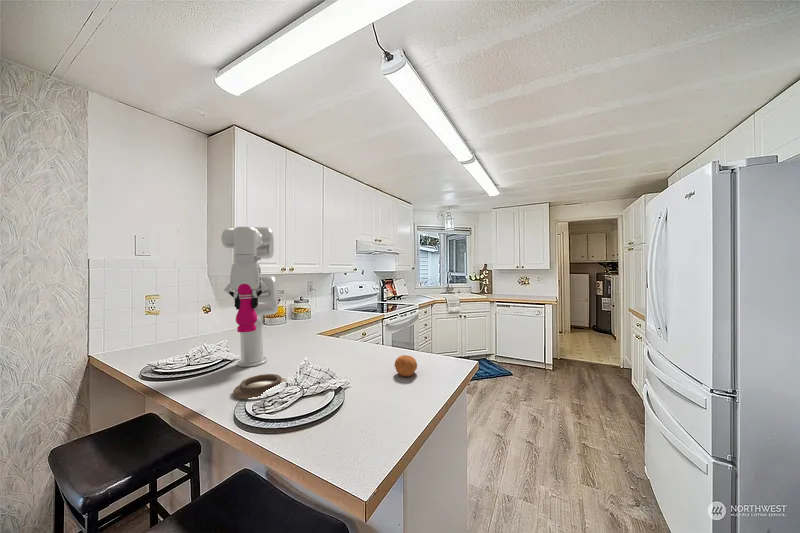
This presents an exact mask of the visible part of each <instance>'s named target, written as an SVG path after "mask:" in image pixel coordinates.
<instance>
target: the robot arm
mask: <svg viewBox="0 0 800 533" xmlns="http://www.w3.org/2000/svg"><path fill="white" fill-rule="evenodd" d="M273 233H274V232H273V231H272V229H270V227H264V226H263V227H262V226H261V227H260V226H237V227H233V228H225V229H224V230H222V233H221V235H220V236H221V237H220V238H221V240H220V241H221V244H222V245H223V247H224V248H226V249H233V263H232V265H231V270H230V277H229V278H230V279H229V283H228V284H227V286H226V287H224V289H223V291H225V292H226V293H228V294H229V295H230V296H231V298H233V300H234V308H235V310H236V311H237V312H238V311H239V308H240V299H239V295H240V294H239V292H238V287H239V286H240V285H241V284H248V285H249V286H250V287H251V289H252V290H253V291H252V292H253V298H252V302H253V309H254V310H255V312H256V314H257V321H256V322H255V324H254V325H256V330H255V331H251V332H239V334H240V339H239V340H240V343H239V344H240V359H239V360H238V361H237V362H236V363H237V364H236V365H237V366H238V367H242V368H250V367H256V366H260V365H264V364H265V363H267V361H268V358H267V356H264V330H263V323H262V321H261V320H260V319H259V318H258V317H259V316H260V317H261V316H268V315H270V316H271V315H275V314H277V312H278V311H279V296H278V295H279V294H278V293H279V292H278V282H277V279H276V277H274V276H273V275H262V270H261V265H260V263H258V261H261V260H265V259H266V260H267V259H272V258H273V256H274V253H275V248H274V247H275V246H274V245H275V244H274V241H275V240H274V239H275V238H274V234H273Z"/></svg>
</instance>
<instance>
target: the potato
mask: <svg viewBox="0 0 800 533" xmlns="http://www.w3.org/2000/svg"><path fill="white" fill-rule="evenodd" d="M417 367H418V363H417V361H416V359H415V357H413V356H411V355H403V354H402V355H400V356H398V357H396V359H395V361H394V368H395V370H396V373H397V374H398V375H400V376H402V377H411V376H413V375H414V373H415V371H416V370H417V369H418V368H417Z"/></svg>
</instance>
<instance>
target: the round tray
mask: <svg viewBox="0 0 800 533" xmlns="http://www.w3.org/2000/svg"><path fill="white" fill-rule="evenodd" d="M285 380H287V379H286V378H283V377H282V376H281V375H279V374H276V373H266V374H265V373H264V374H257V375H254V376H251V377H248V378H245V379H244V380H242V381H241V382H240V384H239V385H237V386H236V387H235V388H233V392H232V393H233V395H232V396H233V397H234V398H235V399H237V400H241V399H248V398H252V397H258V396H261V394H263V392H265V391H266V390H268V389H270V388H272V387H274V386H276V385H278V384H280V383H282V382H284V381H285ZM241 401H242V400H241Z"/></svg>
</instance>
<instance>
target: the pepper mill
mask: <svg viewBox="0 0 800 533" xmlns="http://www.w3.org/2000/svg"><path fill="white" fill-rule="evenodd" d="M252 291H253V290H252V289H251V287H250V286H249V285H248V284H241V285H240V286H239V287H238V292H239V294H240V295H239V299H240V308H239V311H238V310H237V314H236V315H235V323H236V324H237V325H238V326H237V329H236V330H237V333H240V332H251V331H255V330H256V325H254V324H255V322H256V321H257V318H258V316H257V314H256V312H255V310H254V309H253V302H252V298H253V292H252Z"/></svg>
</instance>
